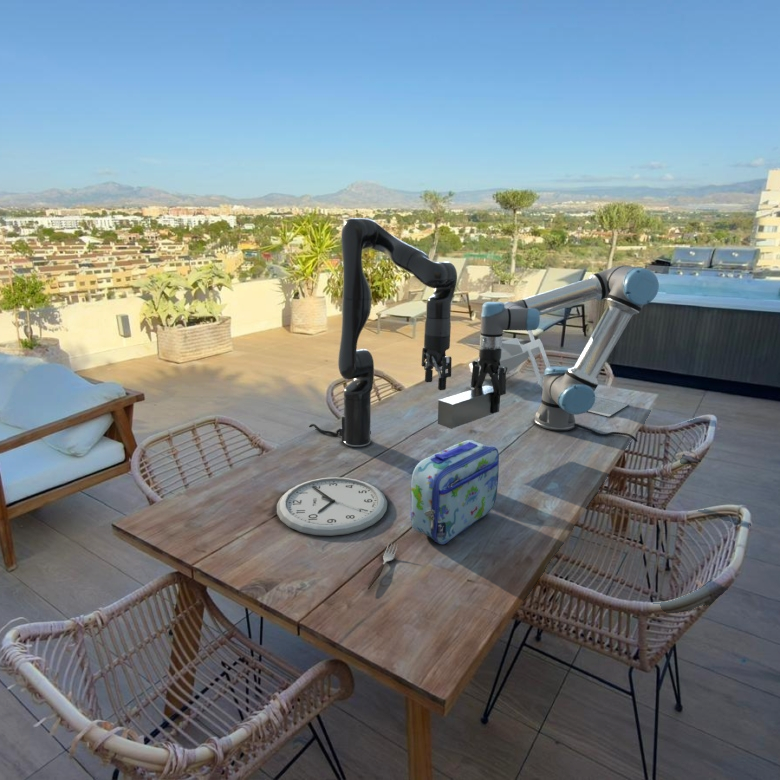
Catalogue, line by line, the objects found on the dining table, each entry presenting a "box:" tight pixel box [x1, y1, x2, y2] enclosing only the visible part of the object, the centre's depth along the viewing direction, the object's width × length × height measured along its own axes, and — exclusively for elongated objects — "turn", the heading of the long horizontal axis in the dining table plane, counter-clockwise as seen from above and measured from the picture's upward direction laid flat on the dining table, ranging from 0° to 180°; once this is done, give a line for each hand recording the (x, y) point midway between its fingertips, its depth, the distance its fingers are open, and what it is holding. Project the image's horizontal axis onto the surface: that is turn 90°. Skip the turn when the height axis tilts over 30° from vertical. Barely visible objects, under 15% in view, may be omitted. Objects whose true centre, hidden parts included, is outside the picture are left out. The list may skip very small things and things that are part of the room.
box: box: [437, 384, 501, 430], centre depth 181 cm, size 26×6×8 cm, turn 132°
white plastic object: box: [468, 330, 551, 390], centre depth 257 cm, size 37×45×31 cm
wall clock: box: [276, 476, 388, 537], centre depth 142 cm, size 30×2×30 cm
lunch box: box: [410, 439, 500, 545], centre depth 131 cm, size 26×11×21 cm, turn 134°
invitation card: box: [587, 396, 629, 418], centre depth 226 cm, size 21×1×15 cm
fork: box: [367, 541, 399, 590], centre depth 116 cm, size 3×16×2 cm, turn 160°
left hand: (435, 385), depth 157 cm, fingers open, 8 cm apart
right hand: (486, 409), depth 188 cm, fingers closed on box, 6 cm apart
